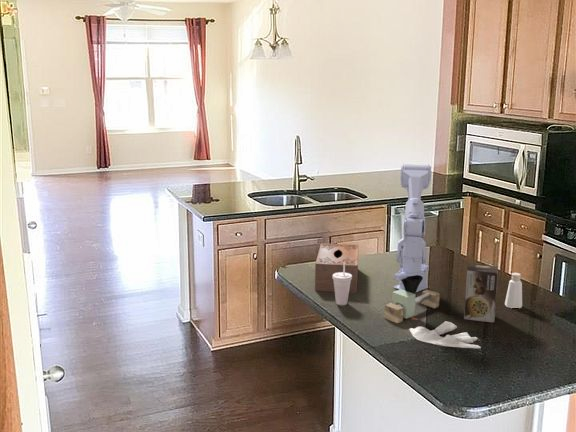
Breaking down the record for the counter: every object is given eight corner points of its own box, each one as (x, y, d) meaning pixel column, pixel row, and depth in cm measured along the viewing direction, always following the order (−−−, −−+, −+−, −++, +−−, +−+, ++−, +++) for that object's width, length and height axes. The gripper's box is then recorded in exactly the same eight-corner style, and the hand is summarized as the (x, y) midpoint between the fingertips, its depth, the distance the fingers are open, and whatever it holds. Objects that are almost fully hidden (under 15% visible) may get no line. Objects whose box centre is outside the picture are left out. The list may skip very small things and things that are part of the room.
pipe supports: (419, 299, 203) (420, 287, 202) (445, 308, 196) (446, 295, 195) (378, 315, 189) (378, 302, 188) (404, 325, 182) (404, 312, 181)
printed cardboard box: (494, 315, 190) (499, 266, 187) (494, 323, 184) (498, 272, 181) (464, 311, 193) (468, 263, 189) (463, 319, 187) (466, 269, 184)
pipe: (429, 296, 200) (430, 290, 199) (435, 298, 198) (436, 292, 197) (388, 312, 186) (388, 305, 186) (394, 314, 184) (394, 308, 184)
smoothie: (350, 307, 196) (351, 266, 193) (330, 305, 197) (331, 264, 194) (352, 300, 202) (353, 260, 199) (333, 298, 203) (333, 258, 200)
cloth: (398, 330, 181) (398, 322, 180) (457, 318, 189) (458, 311, 189) (442, 359, 163) (442, 351, 162) (505, 345, 171) (505, 337, 171)
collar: (399, 310, 193) (400, 289, 191) (414, 315, 188) (415, 294, 187) (391, 313, 190) (392, 292, 188) (406, 318, 186) (407, 297, 184)
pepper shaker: (522, 304, 199) (526, 272, 197) (521, 310, 195) (524, 277, 192) (505, 301, 202) (508, 270, 199) (503, 307, 197) (506, 275, 194)
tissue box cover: (320, 268, 236) (320, 243, 234) (357, 269, 234) (358, 244, 232) (314, 291, 211) (315, 263, 209) (356, 293, 210) (357, 265, 207)
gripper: (408, 264, 180) (405, 307, 183) (437, 254, 189) (434, 295, 192) (389, 258, 185) (387, 300, 188) (418, 249, 194) (416, 289, 197)
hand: (410, 297), depth 190 cm, fingers closed
